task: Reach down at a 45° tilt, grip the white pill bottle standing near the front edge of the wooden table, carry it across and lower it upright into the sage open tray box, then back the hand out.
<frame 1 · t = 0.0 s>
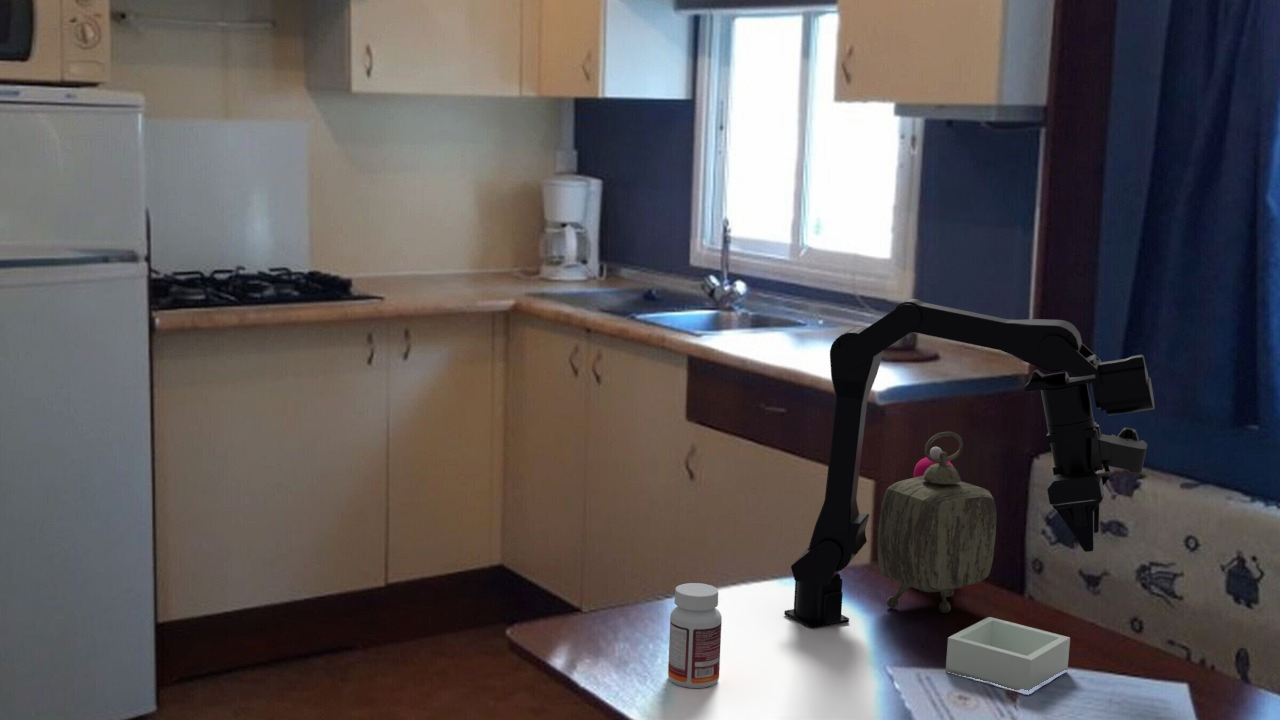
hand: (1091, 541, 197), 15 cm above the table, tool pointing down, fingers open, 9 cm apart
tabletop clock: (934, 609, 217), on the table
sage open tray box: (1006, 672, 194), on the table
pepper mill: (927, 580, 231), on the table
pill bottle: (693, 681, 187), on the table
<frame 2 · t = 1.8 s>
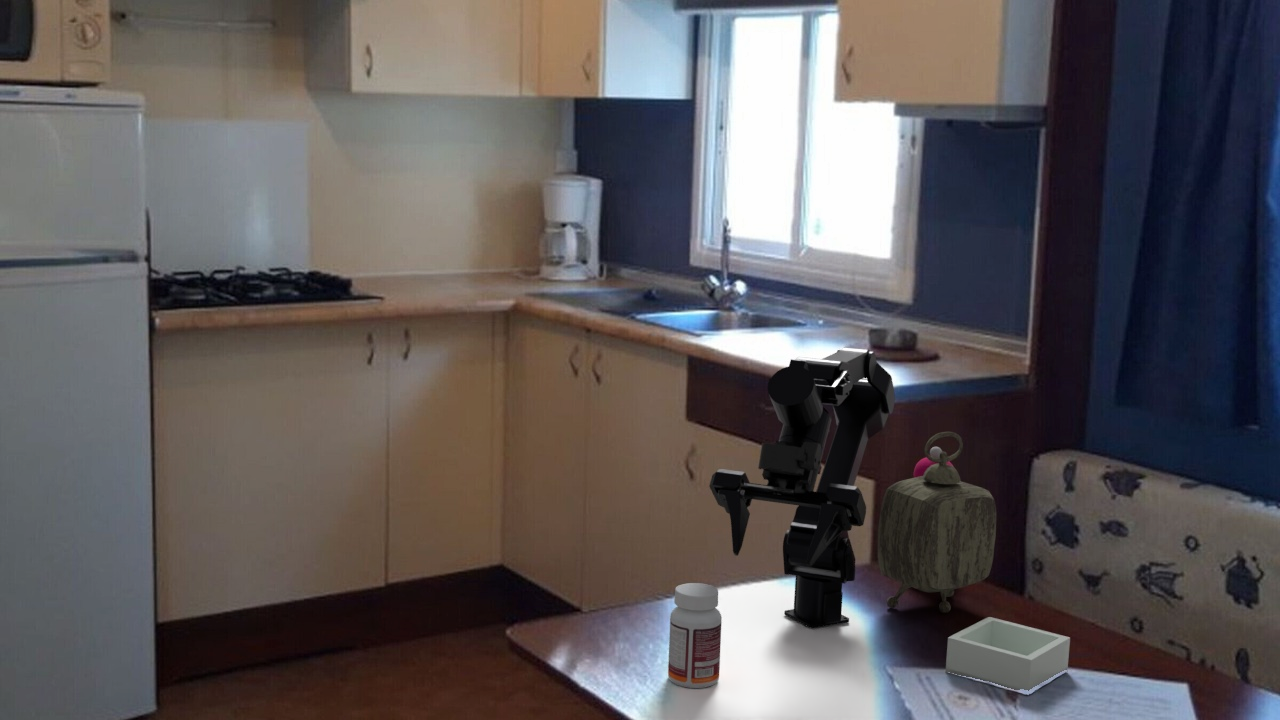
hand: (771, 559, 188), 14 cm above the table, tool tilted 40°, fingers open, 9 cm apart
nothing on the table moved.
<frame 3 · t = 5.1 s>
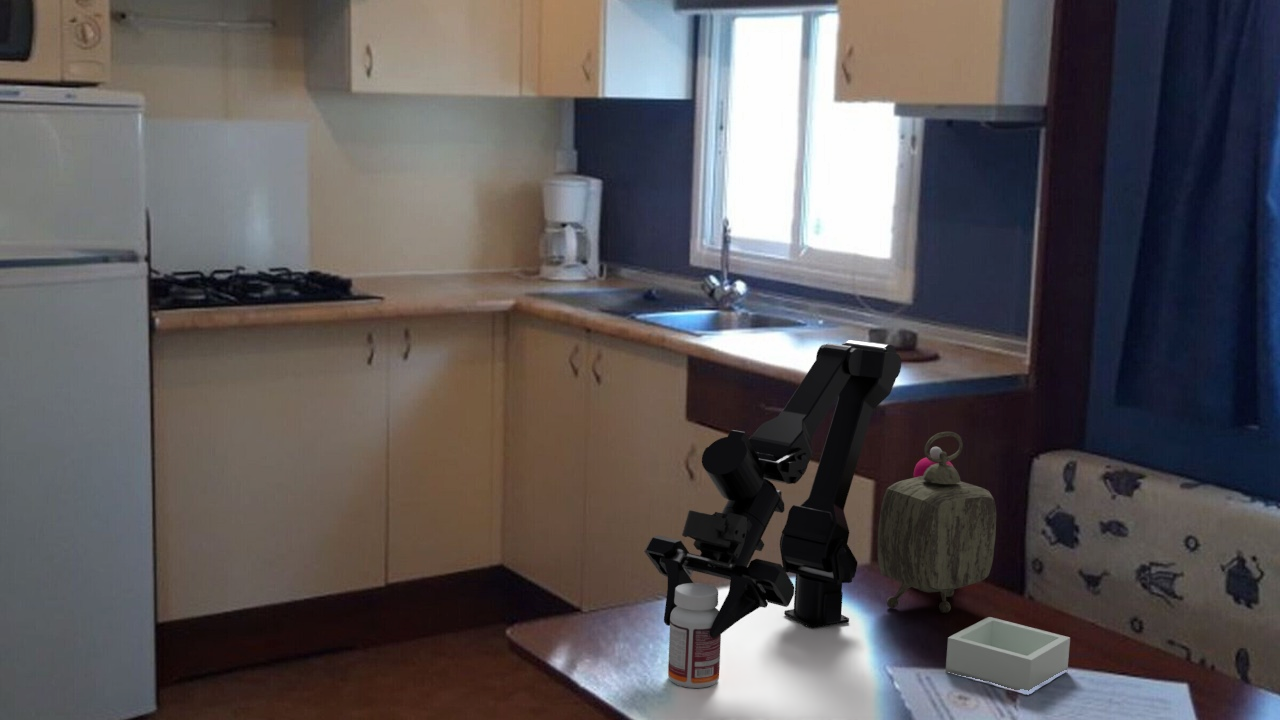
hand: (688, 630, 185), 7 cm above the table, tool tilted 45°, fingers closed on pill bottle, 6 cm apart
pill bottle: (693, 681, 187), on the table, touching gripper
everything else where it was.
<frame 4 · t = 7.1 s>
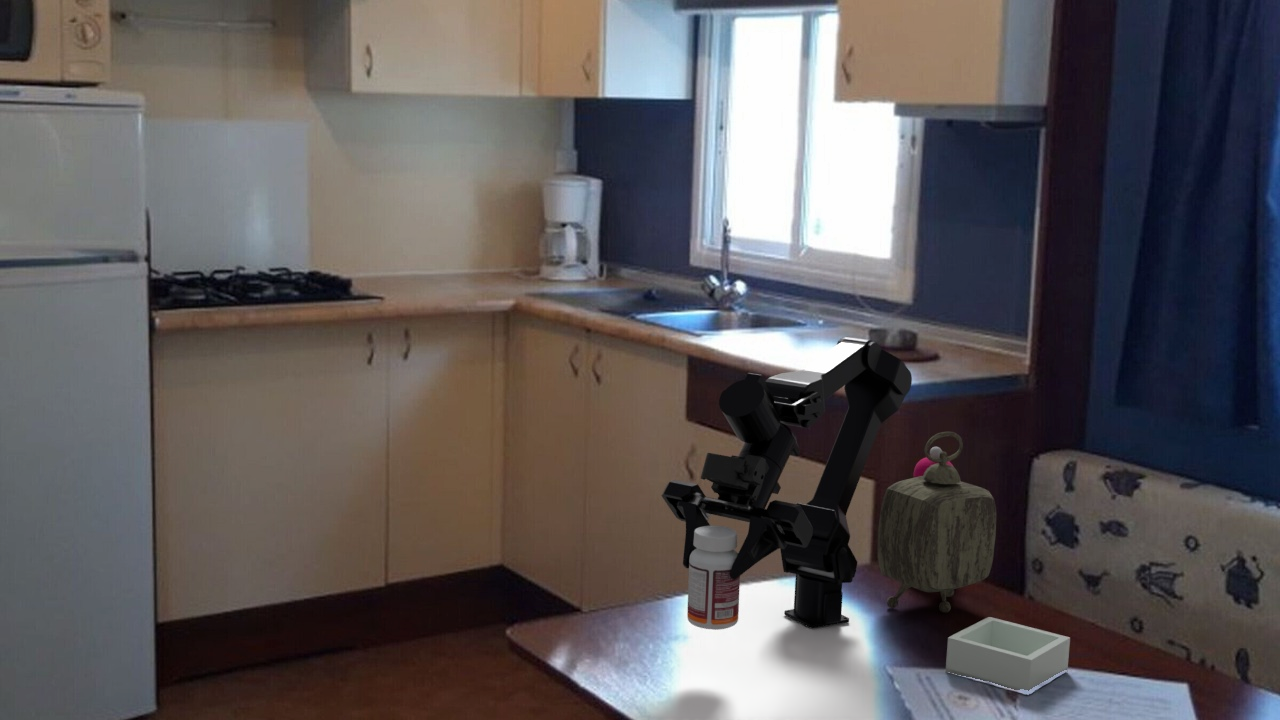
hand: (708, 572, 186), 13 cm above the table, tool tilted 45°, fingers closed on pill bottle, 6 cm apart
pill bottle: (712, 623, 188), point 6 cm above the table, touching gripper
everything else where it was.
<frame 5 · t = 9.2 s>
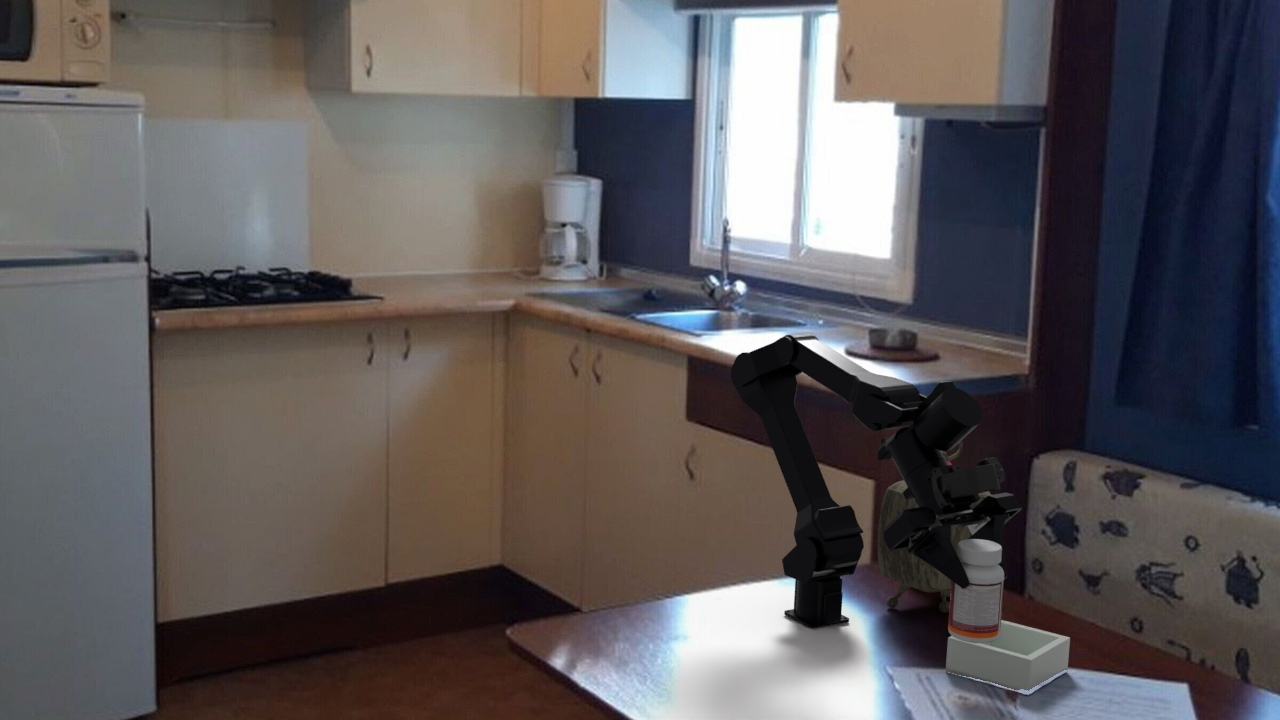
hand: (985, 582, 186), 13 cm above the table, tool tilted 45°, fingers closed on pill bottle, 6 cm apart
pill bottle: (973, 637, 188), point 6 cm above the table, touching gripper
everything else where it was.
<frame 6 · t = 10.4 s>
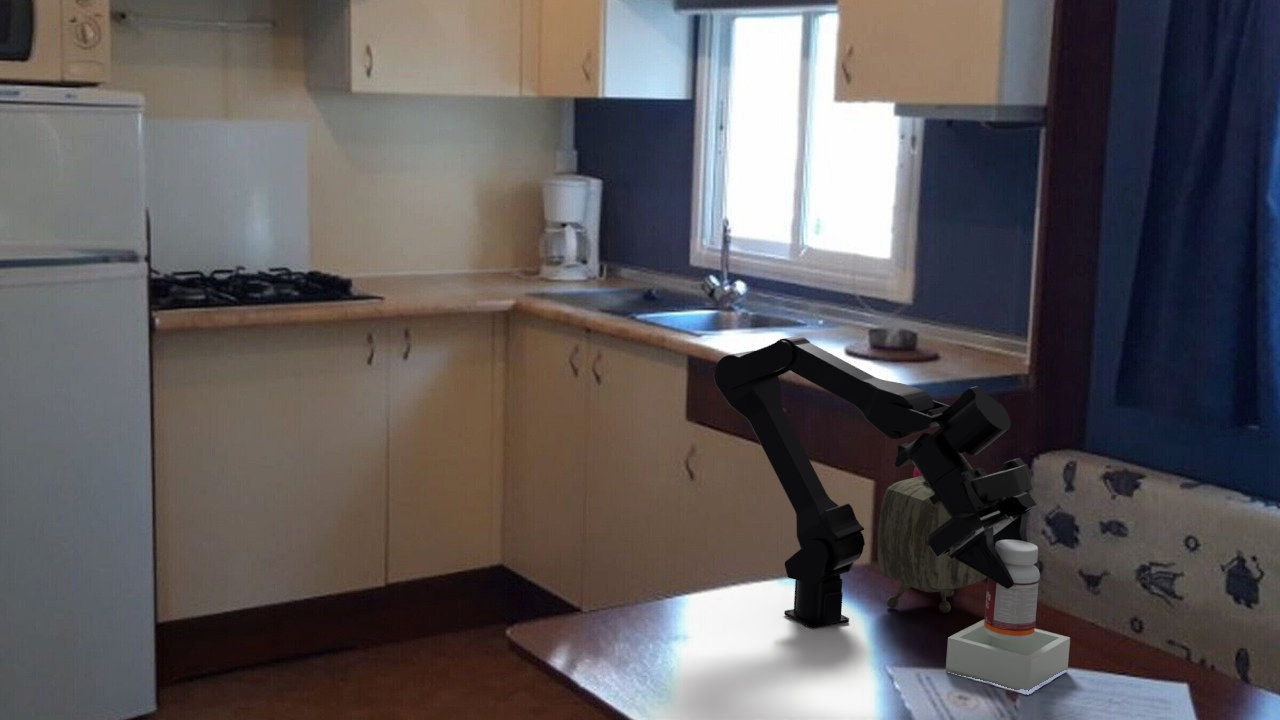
hand: (1023, 581, 191), 12 cm above the table, tool tilted 45°, fingers closed on pill bottle, 6 cm apart
pill bottle: (1008, 635, 193), point 5 cm above the table, touching gripper
everything else where it was.
when the fingers open (9 cm above the table, at t = 11.5 s): pill bottle drops 1 cm, resting on sage open tray box.
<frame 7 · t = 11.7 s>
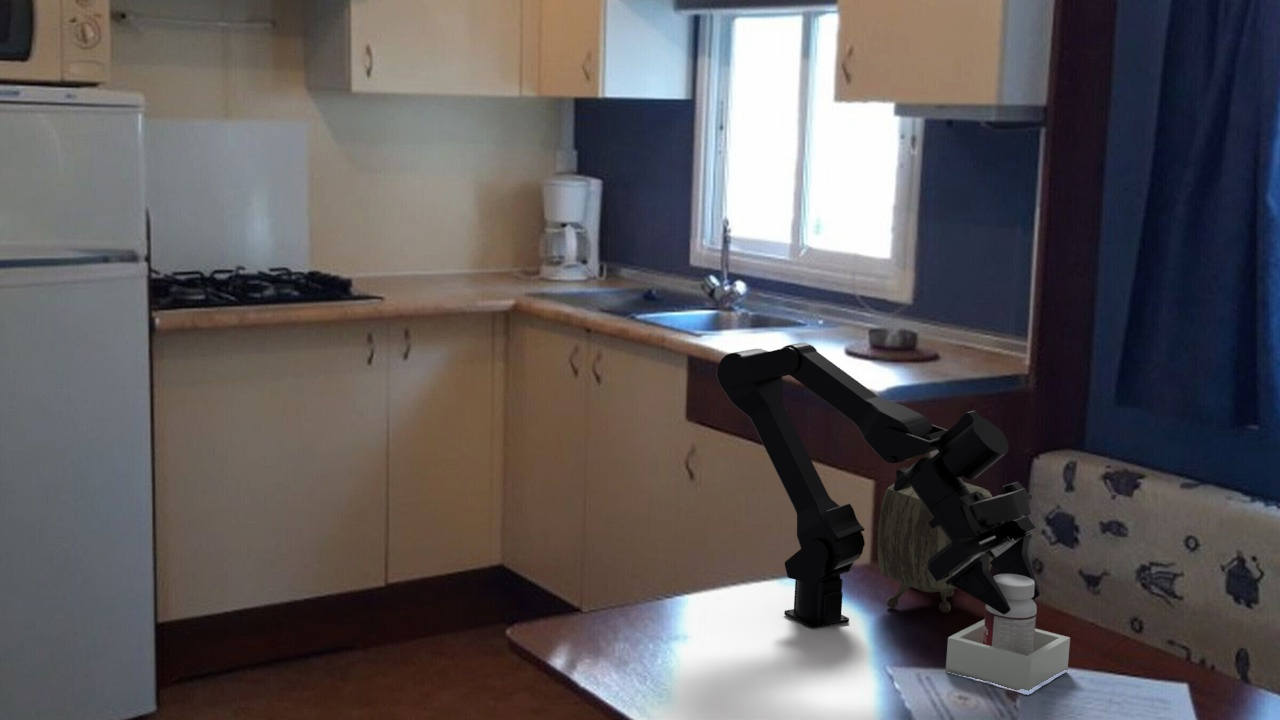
hand: (1022, 604, 191), 9 cm above the table, tool tilted 45°, fingers open, 8 cm apart
pill bottle: (1006, 668, 194), resting on sage open tray box
everything else where it was.
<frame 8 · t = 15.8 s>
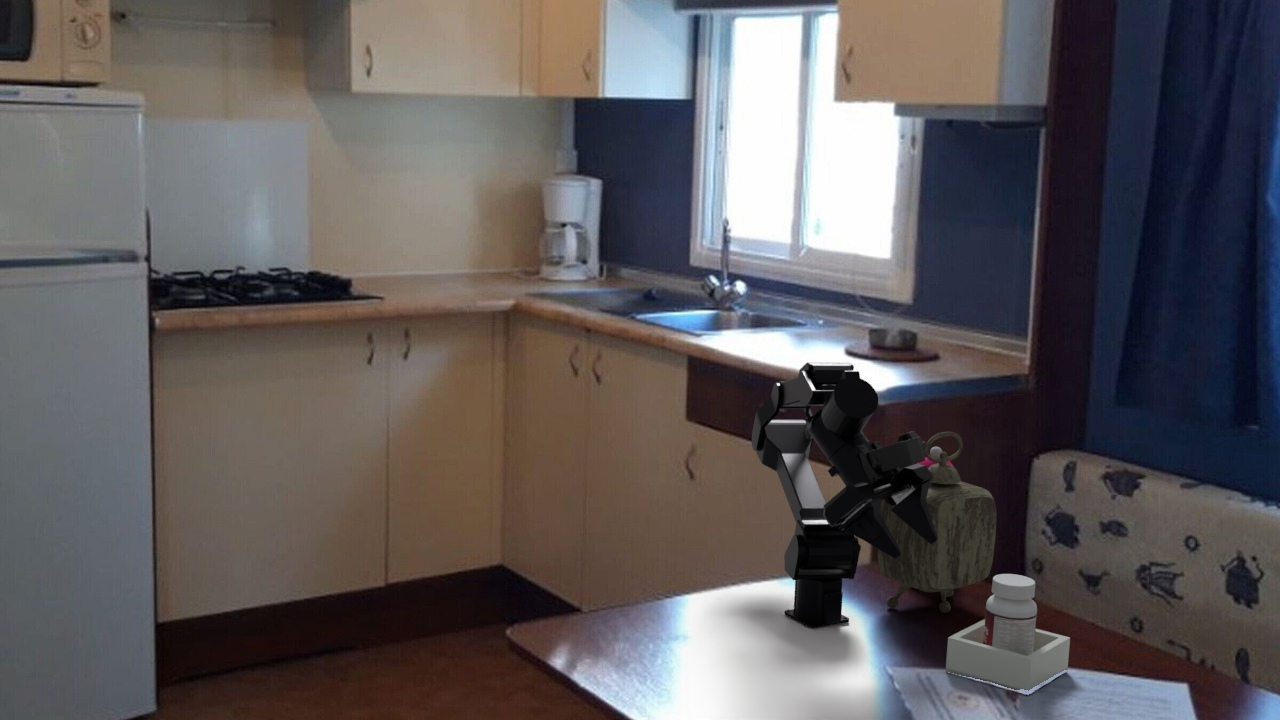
hand: (917, 549, 197), 14 cm above the table, tool tilted 45°, fingers open, 9 cm apart
nothing on the table moved.
at the end: pill bottle 0.0 cm off-centre on the sage open tray box, point 0.4 cm above the sage open tray box's base; pill bottle tilted 0°; the gripper is holding nothing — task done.
